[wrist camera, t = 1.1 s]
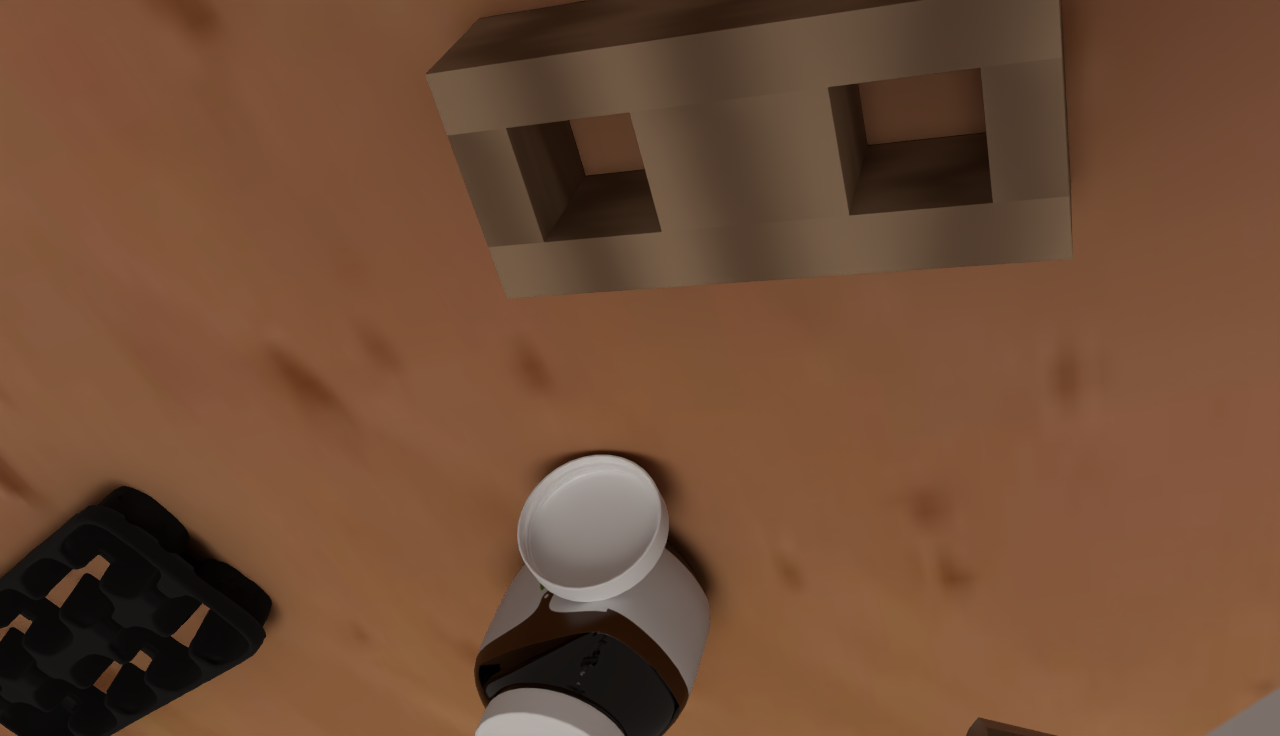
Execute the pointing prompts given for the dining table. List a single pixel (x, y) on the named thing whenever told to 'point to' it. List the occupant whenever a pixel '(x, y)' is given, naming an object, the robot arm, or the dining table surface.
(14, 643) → the egg carton
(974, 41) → the block
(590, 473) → the spread jar
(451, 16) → the dining table surface
